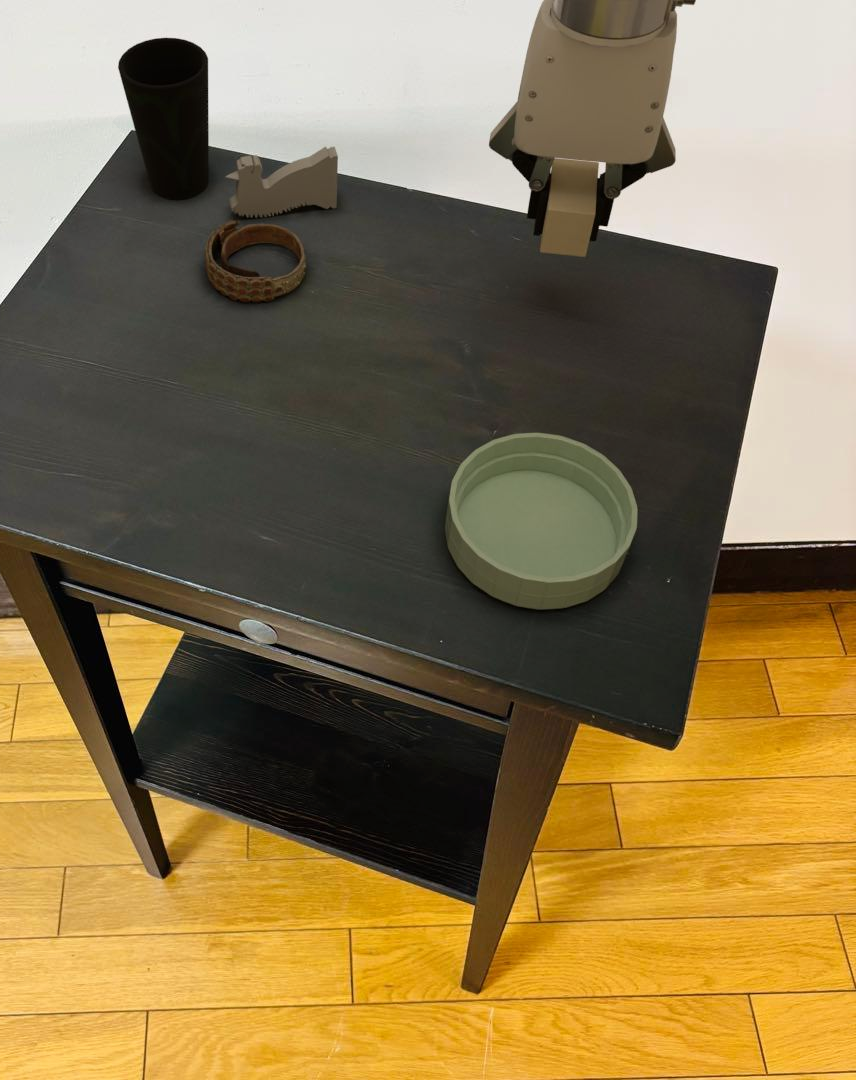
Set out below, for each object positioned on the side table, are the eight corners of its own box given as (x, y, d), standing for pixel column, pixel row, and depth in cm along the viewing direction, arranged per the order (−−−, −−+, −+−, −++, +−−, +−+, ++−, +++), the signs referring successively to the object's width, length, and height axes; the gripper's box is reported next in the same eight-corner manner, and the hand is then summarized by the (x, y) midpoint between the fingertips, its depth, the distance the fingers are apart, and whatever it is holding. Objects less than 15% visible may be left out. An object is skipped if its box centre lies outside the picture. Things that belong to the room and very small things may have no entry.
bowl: (626, 480, 79) (639, 446, 76) (621, 627, 72) (635, 595, 69) (455, 456, 81) (461, 421, 78) (433, 597, 74) (438, 565, 70)
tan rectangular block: (545, 200, 86) (553, 157, 83) (589, 205, 86) (599, 161, 82) (539, 252, 82) (547, 209, 79) (585, 257, 82) (595, 214, 79)
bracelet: (190, 259, 94) (186, 232, 92) (276, 227, 96) (275, 200, 94) (235, 319, 90) (232, 292, 87) (324, 283, 92) (324, 256, 90)
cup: (236, 173, 101) (225, 53, 91) (188, 217, 97) (172, 97, 87) (171, 147, 103) (154, 28, 94) (122, 189, 100) (99, 69, 90)
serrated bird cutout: (336, 209, 98) (228, 221, 97) (333, 199, 99) (226, 212, 98) (337, 154, 93) (224, 167, 92) (334, 145, 94) (222, 157, 93)
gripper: (741, -24, 70) (672, 208, 85) (490, -42, 72) (465, 188, 87) (746, 36, 66) (672, 270, 81) (478, 15, 68) (455, 246, 83)
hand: (565, 225), depth 84 cm, fingers closed on tan rectangular block, 3 cm apart
